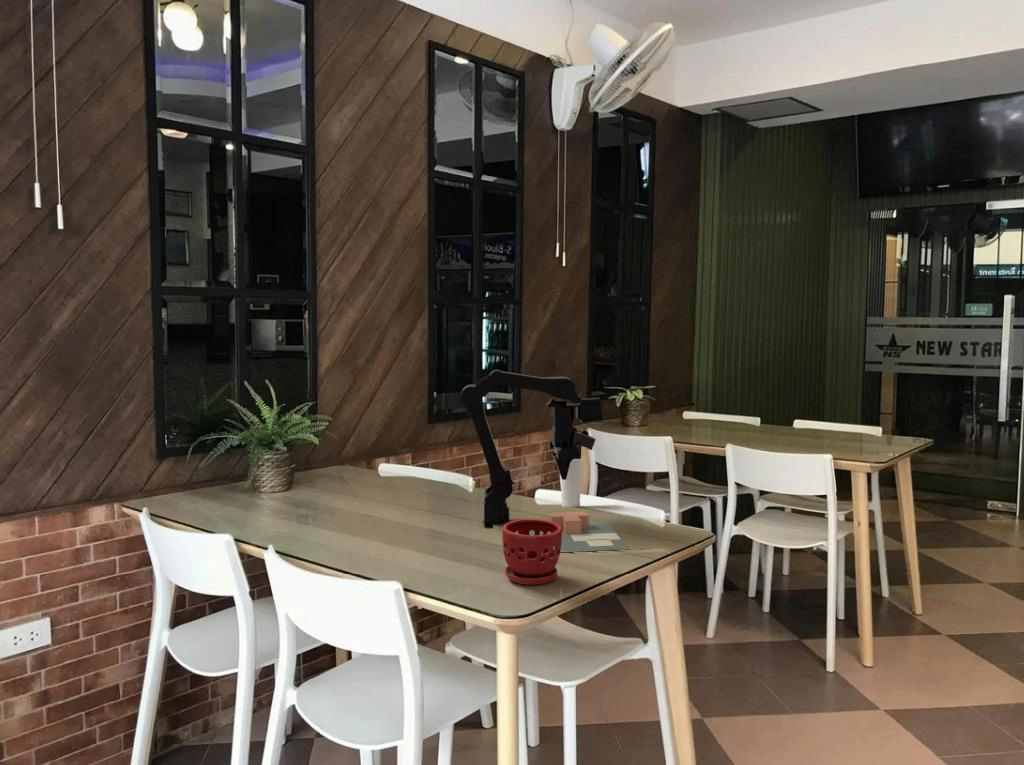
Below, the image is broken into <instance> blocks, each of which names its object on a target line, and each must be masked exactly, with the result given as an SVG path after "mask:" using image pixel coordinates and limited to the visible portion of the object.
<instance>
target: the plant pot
mask: <svg viewBox="0 0 1024 765" xmlns="http://www.w3.org/2000/svg"><path fill="white" fill-rule="evenodd" d="M531 530H533V531H534V532H535V534H534V535H530V534H529V532H530V531H531ZM540 531H542V532H543V535H540ZM547 532H551V534H547ZM501 535H502V539H501V540H502V549H503V556H504V559H505V562H506V564H507V566H506V567H505V568H504V574H505V575H506V577H507V578H508V579H509V580H511V581H512V582H514V583H518V584H521V585H522V584H523V585H530V586H533V585H534V586H536V585H543V584H547V583H550V582H552V581H553V580H554V579H555V578H556V577H557V576H558V570H557V568H556V566H557V564H558V561H559V560H560V555H561V554H560V552H562V551H561V544H562V528H561V526H559V525H558V524H556V523H554V522H551V521H549V520H545V519H533V518H532V519H531V518H523V519H516V520H512V521H509V522H508V523H504V524H503V526H502V534H501ZM554 546H555V548H554V549H553V547H554Z"/></svg>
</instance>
